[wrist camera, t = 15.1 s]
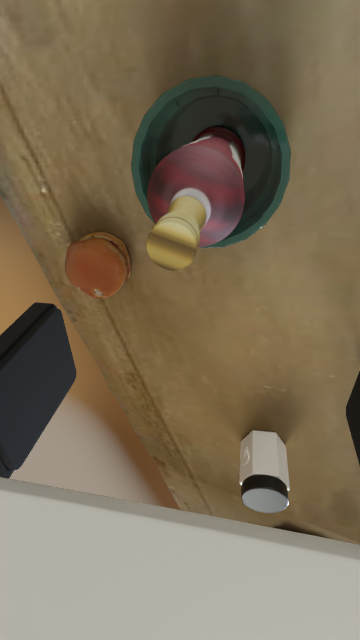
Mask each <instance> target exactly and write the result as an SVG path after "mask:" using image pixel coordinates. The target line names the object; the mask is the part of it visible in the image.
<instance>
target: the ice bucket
mask: <svg viewBox="0 0 360 640" xmlns="http://www.w3.org/2000/svg"><path fill="white" fill-rule="evenodd" d="M212 127H222V128H225V129H228V130H230V131H232V132H233V133H234V134H235V135H236V136H237V137H238V138H239V139H240V141H241V143H242V145H243V147H244V151H245V166H244V169H243V172H242V174H243V184H244V194H245V202H244V209H243V212H242V215H241V218H240V220H239V222H238V224H237V226H236V227H235V228H234V230H233V231H232V232H231V233H230V234H229V235H228V236H227V237H225V238H224V239H223V240H221V241H219V242H217V243H215V244H213V245H209V246H205V247H199V248H217V247H226V246H229V245H231V244H234V243H237V242H240V241H243V240H245V239H247V238H248V237H250V236H251V235H252V234H254V233H255V232H256V231H258V230H259V229H260V228H262V227H263V226H264V225H265V224H266V223H267V222H268V220H269V219H270V218H271V216H272V215H273V214H274V212H275V211H276V209H277V208H278V207H279V205H280V203H281V201H282V198H283V195H284V192H285V190H286V187H287V184H288V182H289V175H290V157H291V152H290V151H291V150H290V146H289V142H288V138H287V135H286V131H285V127H284V124H283V122H282V120H281V119H280V117H279V116H278V114H277V113H276V111H275V110H274V108H273V107H272V105H271V104H270V102H269V101H268V99H267V98H265V97H264V96H263V95H261V94H260V93H258V92H257V91H256V90H254V89H253V88H251V87H250V86H249V85H247V84H246V83H244V82H242V81H238V80H234V79H230V78H225V77H221V76H217V75H213V76H207V77H200V78H194V79H188V80H186V81H184V82H182V83H180V84H179V85H177V86H175V87H174V88H172V89H170V90H168V91H167V92H165V93H163V94H162V95H161V96H160V97H159V99H158V100H157V101H156V102H155V103H154V105H153V106H152V107H151V108H150V109H149V110H148V112H147V113H146V114H145V115H144V117H143V120H142V122H141V124H140V127H139V129H138V132H137V134H136V136H135V139H134V144H133V154H132V163H131V170H132V175H133V181H134V186H135V192H136V194H137V196H138V198H139V201H140V203H141V205H142V207H143V209H144V211H145V213H146V214H147V216H148V217H149V218H150V219H151V220H152V221H153V218H152V216H151V214H150V211H149V206H148V199H147V191H148V185H149V181H150V178H151V175H152V173H153V171H154V170H155V168H156V166H157V165H158V164H159V163H160V162H161V160H162V159H163V158H164V157H166V156H167V155H169V154H170V153H171V152H173V151H175V150H177V149H179V148H181V147H183V146H184V145H187V144H189V143H191V142H192V140H193V139H194V138H195V137H196V136H197V135H198V134H199V133H200V132H202V131H203V130H206V129H208V128H212ZM153 222H154V221H153ZM154 223H155V222H154Z"/></svg>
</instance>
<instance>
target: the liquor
mask: <svg viewBox="0 0 360 640" xmlns="http://www.w3.org/2000/svg"><path fill="white" fill-rule="evenodd" d="M244 166H245V151H244V147H243V145H242V143H241V141H240V139H239V138H238V137H237V136H236V135H235V134H234V133H233V132H232V131H230V130H228V129H225V128H222V127H212V128H208V129H206V130H203V131H202V132H200V133H199V134H198V135H197V136H196V137H195V138H194V139H193V140H192V142H191V143H189V144H187V145H184V146H183V147H181V148H179V149H177V150H175V151H173V152H171V153H170V154H169V155H167V156H166V157H164V158H163V159H162V160H161V162H160V163H159V164H158V165H157V166H156V168H155V170H154V171H153V173H152V175H151V178H150V181H149V185H148V191H147V199H148V206H149V211H150V214H151V216H152V218H153V221H154V222H155V224H156V225H155V226H154V227H153V229H152V230H151V232H150V233H149V235H148V238H147V250H148V253H149V256H150V257H151V259H152V260H153V261H154V262H155V263H156V264H157V265H158V266H160V267H162V268H164V269H168V270H179V269H183V268H185V267H187V266H188V265H189V264H190V263H191V262H192V261H193V259H194V257H195V254H196V251H197V248H198V247H205V246H209V245H213V244H215V243H217V242H219V241H221V240H223V239H224V238H225V237H227V236H228V235H229V234H230V233H231V232H232V231H233V230H234V228H235V227H236V226H237V224H238V222H239V220H240V218H241V215H242V212H243V209H244V202H245V194H244V184H243V174H242V172H243V169H244Z"/></svg>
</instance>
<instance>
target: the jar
mask: <svg viewBox="0 0 360 640" xmlns="http://www.w3.org/2000/svg"><path fill="white" fill-rule="evenodd" d="M239 483H240V485H241V486H242V487H241V498H242V501H243V503H244V504H245V505H246V506H247V507H249V508H250V509H252V510H255V511H258V512H263V513H275V512H279V511H282V510H284V509H285V508H286V507H287V506H288V503H289V500H288V491H289V490H290V486H289V476H288V465H287V455H286V446H285V445H284V443H283V442H282V440H281V439H280V438H279V436H278V435H277V433H275V432H265V431H255V430H253V431H251V432H250V433H249V434H248V435H247V436H246V437H245V438H244V439H243V440H242V441H241V447H240V478H239Z"/></svg>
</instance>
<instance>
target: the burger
mask: <svg viewBox="0 0 360 640" xmlns="http://www.w3.org/2000/svg"><path fill="white" fill-rule="evenodd" d="M65 270H66V275H67V277H68V279H69V281H70V282H71V283H72V284H73V285H74V286H75V287H76V288H78V289H80V290H82V291H83V292H84V293H86V294H88V295H89V296H92V297H95V298H102V297H110V296H113V295H114V294H116V293H117V292H118V291H119V290H120V289H121V287H122V286H123V284H124V282H125V281H126V280H128V279H129V277H130V275H131V262H130V257H129V255H128V252H127V250H126V246H125V244H124V243H123V242H122V241H121V240H120V239H118V238H117V237H115V236H113V235H111V234H109V233H105V232H94V233H90V234H87V235H85V236H84V237H82V238H81V239H80V241H77V242H74V243H72V244H71V245H70V246H69V248H68V250H67V254H66V261H65Z"/></svg>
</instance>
